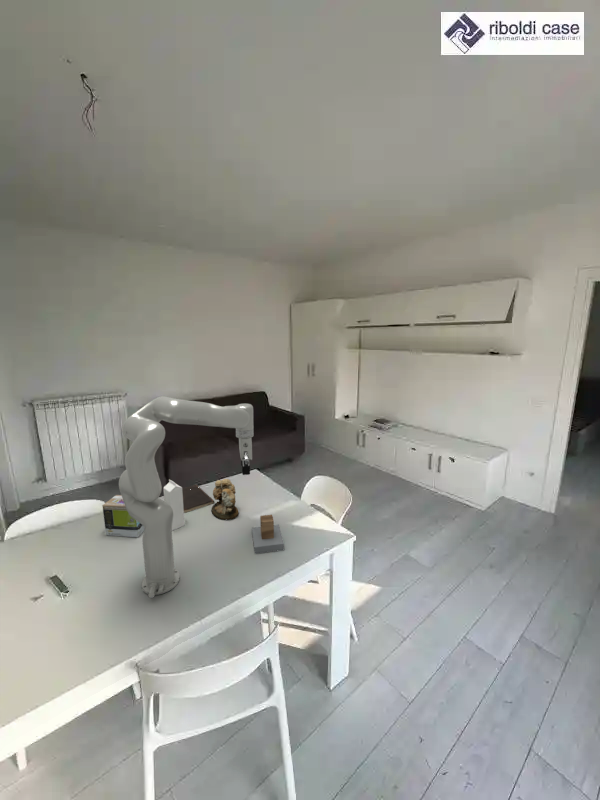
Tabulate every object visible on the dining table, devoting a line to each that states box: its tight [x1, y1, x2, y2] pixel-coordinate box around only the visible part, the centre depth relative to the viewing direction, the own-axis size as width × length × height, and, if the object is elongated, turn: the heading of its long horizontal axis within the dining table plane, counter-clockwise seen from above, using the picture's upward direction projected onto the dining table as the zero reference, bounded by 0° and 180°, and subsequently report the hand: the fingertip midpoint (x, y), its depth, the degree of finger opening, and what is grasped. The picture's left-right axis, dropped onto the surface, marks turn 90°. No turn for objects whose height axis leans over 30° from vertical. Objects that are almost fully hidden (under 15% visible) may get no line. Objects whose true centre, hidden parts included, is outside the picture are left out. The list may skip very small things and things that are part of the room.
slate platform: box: [251, 524, 285, 555], centre depth 144 cm, size 14×12×3 cm
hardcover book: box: [182, 484, 216, 514], centre depth 179 cm, size 16×23×2 cm
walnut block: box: [260, 514, 275, 539], centre depth 143 cm, size 5×5×8 cm
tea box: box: [101, 494, 145, 538], centre depth 149 cm, size 15×10×15 cm, turn 84°
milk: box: [162, 478, 186, 532], centre depth 153 cm, size 6×6×22 cm
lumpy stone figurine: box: [211, 478, 240, 521], centre depth 166 cm, size 18×12×17 cm, turn 42°
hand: (245, 469), depth 148 cm, fingers open, 9 cm apart
